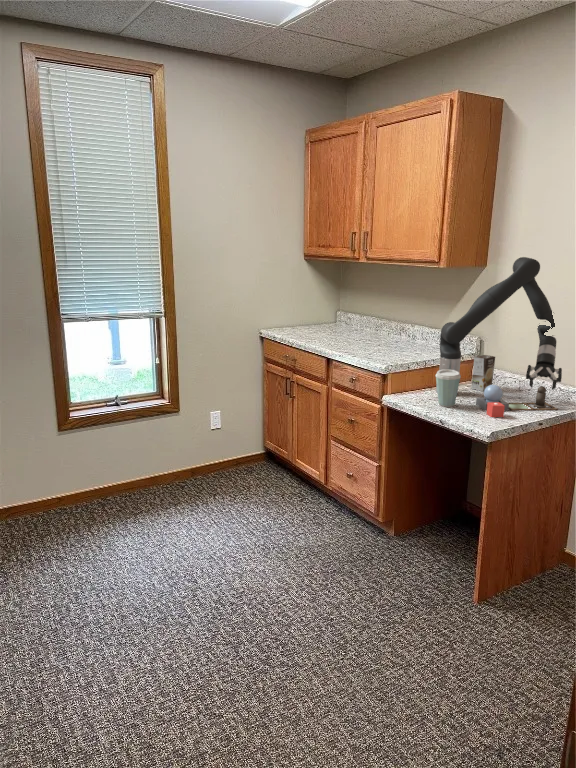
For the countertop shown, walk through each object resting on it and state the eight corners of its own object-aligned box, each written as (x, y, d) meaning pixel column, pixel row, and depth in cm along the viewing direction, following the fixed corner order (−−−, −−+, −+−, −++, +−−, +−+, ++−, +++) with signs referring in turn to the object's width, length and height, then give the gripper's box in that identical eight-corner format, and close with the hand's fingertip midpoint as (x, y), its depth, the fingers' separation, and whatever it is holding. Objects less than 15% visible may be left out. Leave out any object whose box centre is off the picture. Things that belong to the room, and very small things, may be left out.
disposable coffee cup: (459, 409, 239) (462, 375, 235) (433, 407, 241) (436, 373, 237) (457, 402, 249) (460, 369, 245) (432, 401, 251) (434, 368, 247)
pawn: (537, 408, 242) (539, 387, 239) (531, 405, 247) (533, 384, 244) (548, 408, 242) (550, 387, 240) (542, 405, 247) (544, 384, 245)
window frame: (510, 410, 238) (510, 409, 238) (500, 404, 248) (500, 402, 248) (557, 410, 240) (557, 408, 240) (545, 403, 250) (545, 402, 249)
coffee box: (482, 391, 269) (486, 358, 265) (470, 389, 273) (473, 356, 270) (492, 388, 275) (495, 356, 271) (480, 386, 280) (483, 354, 276)
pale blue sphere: (487, 406, 238) (489, 387, 236) (479, 401, 246) (481, 382, 244) (504, 406, 239) (506, 387, 237) (496, 401, 246) (498, 382, 244)
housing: (485, 410, 237) (486, 404, 237) (475, 404, 247) (476, 397, 246) (508, 410, 238) (509, 403, 237) (497, 404, 248) (498, 397, 247)
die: (491, 417, 228) (492, 405, 227) (486, 414, 233) (487, 402, 232) (503, 417, 228) (504, 405, 227) (498, 413, 233) (499, 401, 232)
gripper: (529, 351, 252) (524, 381, 245) (564, 353, 246) (561, 384, 239) (528, 360, 258) (524, 390, 251) (562, 363, 252) (559, 394, 245)
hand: (542, 387), depth 245 cm, fingers open, 8 cm apart
